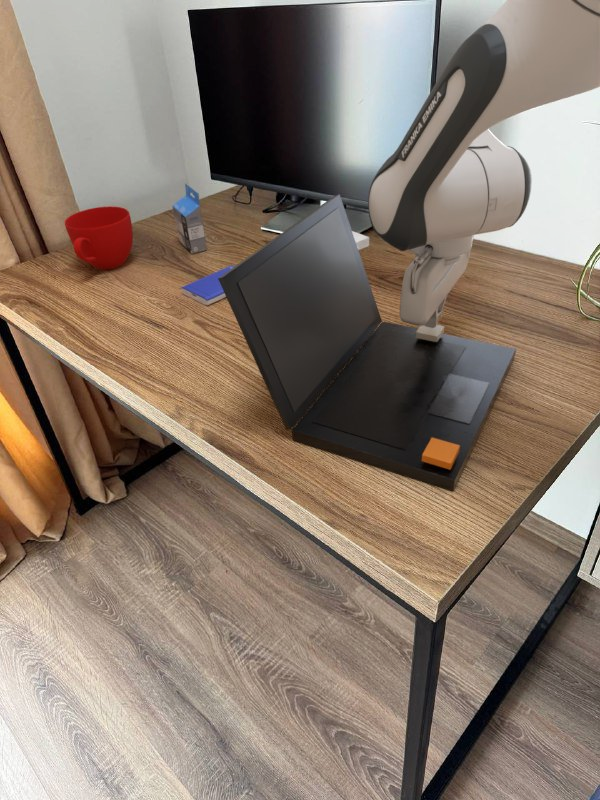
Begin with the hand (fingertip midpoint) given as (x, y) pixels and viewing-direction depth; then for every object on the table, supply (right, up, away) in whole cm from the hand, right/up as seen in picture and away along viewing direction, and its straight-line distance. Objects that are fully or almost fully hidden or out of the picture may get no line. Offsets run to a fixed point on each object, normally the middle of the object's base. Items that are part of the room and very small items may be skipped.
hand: (433, 323), depth 88 cm
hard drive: (-35, +10, +24) cm, 44 cm away
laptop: (-5, -11, -7) cm, 14 cm away
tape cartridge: (-44, +22, +42) cm, 65 cm away
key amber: (-4, -18, -20) cm, 27 cm away
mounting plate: (-14, +21, +37) cm, 45 cm away
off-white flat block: (0, -2, +2) cm, 3 cm away
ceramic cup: (-61, +16, +36) cm, 73 cm away
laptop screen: (-18, +2, -8) cm, 19 cm away
